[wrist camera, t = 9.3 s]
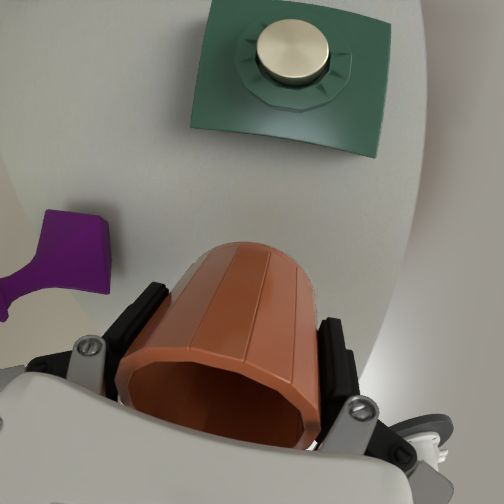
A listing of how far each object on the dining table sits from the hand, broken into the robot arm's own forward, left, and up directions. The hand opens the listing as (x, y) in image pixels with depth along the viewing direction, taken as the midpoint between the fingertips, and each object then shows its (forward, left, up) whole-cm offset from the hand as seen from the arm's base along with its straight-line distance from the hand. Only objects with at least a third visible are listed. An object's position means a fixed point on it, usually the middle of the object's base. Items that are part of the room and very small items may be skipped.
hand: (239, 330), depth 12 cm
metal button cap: (0, -13, -7) cm, 15 cm away
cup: (0, 0, -2) cm, 2 cm away
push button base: (0, -13, -11) cm, 17 cm away
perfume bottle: (+17, +3, -11) cm, 21 cm away
